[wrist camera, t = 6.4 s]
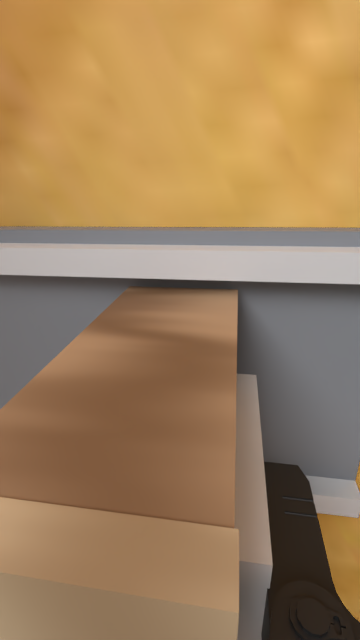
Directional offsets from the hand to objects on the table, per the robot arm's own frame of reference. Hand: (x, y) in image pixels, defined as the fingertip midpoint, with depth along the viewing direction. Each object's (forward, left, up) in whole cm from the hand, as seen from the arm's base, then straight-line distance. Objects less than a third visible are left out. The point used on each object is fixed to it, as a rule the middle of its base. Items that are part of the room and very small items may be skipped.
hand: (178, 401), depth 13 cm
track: (-4, 0, -3) cm, 4 cm away
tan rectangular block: (0, 0, -1) cm, 1 cm away
